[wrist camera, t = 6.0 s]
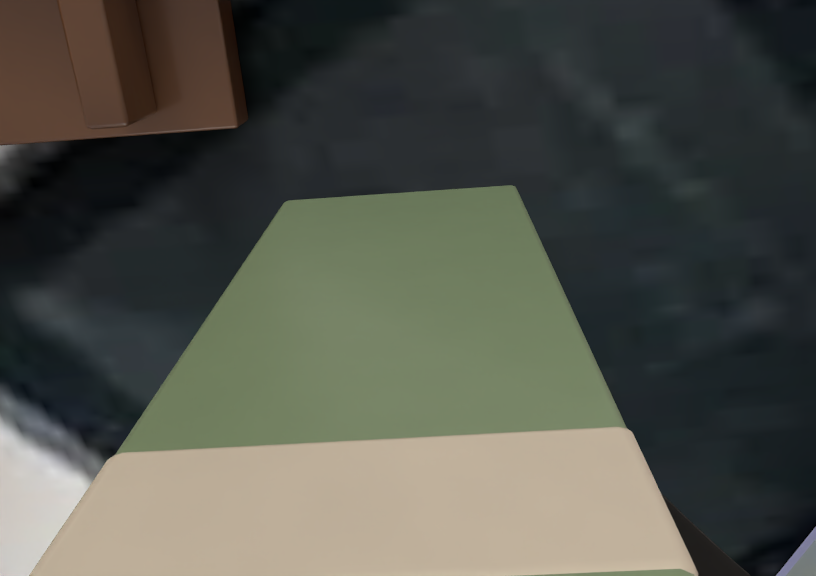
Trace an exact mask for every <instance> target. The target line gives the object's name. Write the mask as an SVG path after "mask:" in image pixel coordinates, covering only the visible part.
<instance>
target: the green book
mask: <svg viewBox="0 0 816 576" xmlns="http://www.w3.org/2000/svg"><path fill="white" fill-rule="evenodd" d="M29 576H698V572H697V570H696V567H695V565H694V563H693V561H692V559H691V557H690V554H689V552H688V550H687V548H686V546H685V544H684V542H683V539H682V537H681V535H680V533H679V531H678V529H677V527H676V525H675V522H674V520H673V518H672V516H671V514H670V512H669V510H668V507H667V505H666V503H665V501H664V499H663V497H662V495H661V493H660V490H659V488H658V486H657V484H656V482H655V480H654V478H653V475H652V473H651V471H650V469H649V467H648V465H647V463H646V461H645V458H644V456H643V454H642V452H641V450H640V448H639V446H638V443H637V441H636V439H635V437H634V435H633V433H632V432H631V431H630V430H628V429H627V428H626V426H625V423H624V421H623V419H622V417H621V415H620V413H619V410H618V408H617V406H616V404H615V402H614V400H613V397H612V395H611V393H610V391H609V389H608V387H607V384H606V382H605V380H604V378H603V376H602V373H601V371H600V369H599V367H598V365H597V363H596V360H595V358H594V356H593V354H592V352H591V350H590V347H589V345H588V343H587V341H586V339H585V337H584V334H583V332H582V330H581V328H580V326H579V324H578V321H577V319H576V317H575V315H574V313H573V310H572V308H571V306H570V304H569V302H568V300H567V297H566V295H565V293H564V291H563V289H562V287H561V284H560V282H559V280H558V278H557V276H556V274H555V271H554V269H553V267H552V265H551V263H550V261H549V258H548V256H547V254H546V252H545V250H544V248H543V245H542V243H541V241H540V239H539V237H538V234H537V232H536V230H535V228H534V226H533V224H532V221H531V219H530V217H529V215H528V213H527V211H526V208H525V206H524V204H523V202H522V200H521V198H520V195H519V193H518V191H517V189H516V187H515V186H512V185H509V186H495V187H480V188H465V189H451V190H436V191H422V192H407V193H393V194H378V195H363V196H349V197H334V198H320V199H305V200H291V201H286V202H284V203H283V205H282V206H281V208H280V209H279V211H278V212H277V214H276V215H275V217H274V218H273V220H272V221H271V223H270V224H269V226H268V227H267V229H266V230H265V232H264V233H263V235H262V236H261V238H260V239H259V241H258V242H257V244H256V245H255V247H254V248H253V250H252V251H251V253H250V254H249V256H248V257H247V259H246V260H245V262H244V263H243V265H242V266H241V268H240V269H239V271H238V272H237V274H236V275H235V277H234V278H233V280H232V281H231V283H230V284H229V286H228V287H227V289H226V290H225V292H224V293H223V295H222V296H221V298H220V299H219V301H218V302H217V304H216V305H215V307H214V308H213V310H212V311H211V313H210V314H209V315H208V317H207V318H206V320H205V321H204V323H203V324H202V326H201V327H200V329H199V330H198V332H197V333H196V335H195V336H194V338H193V339H192V341H191V342H190V344H189V345H188V347H187V348H186V350H185V351H184V353H183V354H182V356H181V357H180V359H179V360H178V362H177V363H176V365H175V366H174V368H173V369H172V371H171V372H170V374H169V375H168V377H167V378H166V380H165V381H164V383H163V384H162V386H161V387H160V389H159V390H158V392H157V393H156V395H155V396H154V398H153V399H152V401H151V402H150V404H149V405H148V407H147V408H146V410H145V411H144V413H143V414H142V416H141V417H140V419H139V420H138V422H137V423H136V425H135V426H134V428H133V429H132V431H131V432H130V433H129V435H128V436H127V438H126V439H125V441H124V442H123V444H122V445H121V447H120V448H119V450H118V451H117V453H116V454H115V455H114V456H113V457H111V458H109V459H108V460H107V462H106V463H105V464H104V466H103V467H102V469H101V470H100V472H99V473H98V475H97V476H96V478H95V479H94V481H93V482H92V484H91V485H90V487H89V488H88V490H87V491H86V492H85V494H84V495H83V497H82V498H81V500H80V501H79V503H78V504H77V506H76V507H75V509H74V510H73V512H72V513H71V515H70V516H69V518H68V519H67V520H66V522H65V523H64V525H63V526H62V528H61V529H60V531H59V532H58V534H57V535H56V537H55V538H54V540H53V541H52V543H51V544H50V546H49V547H48V548H47V550H46V551H45V553H44V554H43V556H42V557H41V559H40V560H39V562H38V563H37V565H36V566H35V568H34V569H33V571H32V572H31V574H30V575H29Z"/></svg>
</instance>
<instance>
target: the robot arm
mask: <svg viewBox="0 0 816 576" xmlns="http://www.w3.org/2000/svg"><path fill="white" fill-rule="evenodd" d="M660 493H661V492H660ZM661 495H662V497H663V499H664V501H665V503H666V505H667V507H668V510H669V512H670V514H671V516H672V518H673V520H674V522H675V525H676V527H677V529H678V531H679V533H680V535H681V537H682V539H683V542H684V544H685V546H686V548H687V550H688V552H689V554H690V557H691V559H692V561H693V563H694V565H695V567H696V570H697V572H698V576H750V575H749V574H748V573H747V572H746V571H745V570H744V569H742V568H741V567H740V566H739V565H738V564H737V563H736V562H734V561H733V560H732V559H731V558H730V557H729V556H728V555H727V554H725V553H724V552H723V551H722V550H721V549H720V548H719V547H718V546H717V545H716V544H715V543H714V542H712V541H711V540H710V539H709V538H708V537H707V536H706V535H705V534H704V533H703V532H702V531H701V530H699V529H698V528H697V527H696V526H695V525H694V524H693V523H692V522H691V521H690V520H689V519H688V518H686V517H685V516H684V515H683V514H682V513H681V512H680V511H679V510H678V509H677V508H676V507H675V506H674V505H673V504H672V503H671V502H670V501H669V500H668V499H667V498H666V497H665V496H664V495H663V494H662V493H661Z"/></svg>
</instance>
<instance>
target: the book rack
mask: <svg viewBox="0 0 816 576" xmlns="http://www.w3.org/2000/svg"><path fill="white" fill-rule="evenodd" d="M247 120H248V113H247V106H246V100H245V93H244V87H243V80H242V74H241V67H240V61H239V54H238V48H237V41H236V34H235V28H234V21H233V15H232V8H231V2H230V0H0V145H13V144H27V143H40V142H54V141H68V140H82V139H95V138H109V137H123V136H137V135H150V134H164V133H178V132H192V131H205V130H219V129H233V128H237V127H239V126H240V125H242V124H243V123H244V122H246V121H247Z"/></svg>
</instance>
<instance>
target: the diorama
mask: <svg viewBox="0 0 816 576" xmlns="http://www.w3.org/2000/svg"><path fill="white" fill-rule="evenodd" d="M776 576H816V527H815V528H814V529H813V531H812V532H811V533H810V534H809V535H808V537H807V538H806V539H805V540H804V542H803V543H802V544H801V545H800V547H799V548H798V549H797V550H796V552H795V553H794V554H793V555H792V557H791V558H790V559H789V560H788V561H787V563H786V564H785V565H784V566H783V568H782V569H781V570H780V571H779V573H778V574H777V575H776Z"/></svg>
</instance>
